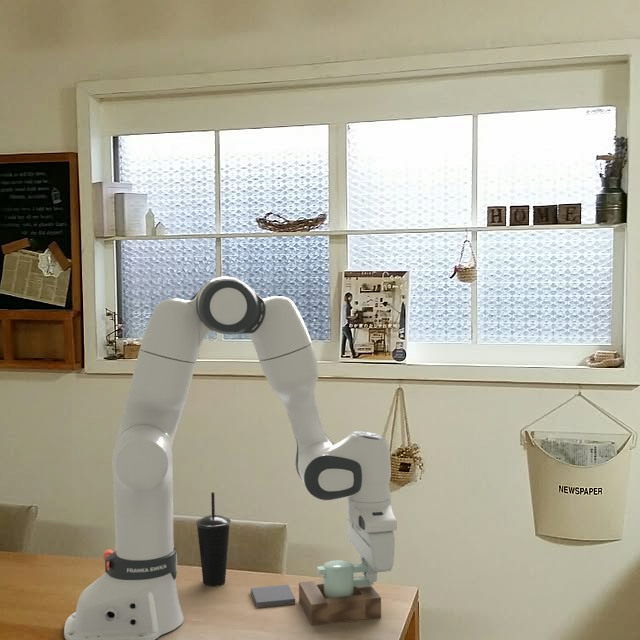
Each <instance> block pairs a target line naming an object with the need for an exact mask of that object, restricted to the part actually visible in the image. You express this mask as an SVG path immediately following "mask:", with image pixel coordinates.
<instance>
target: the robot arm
mask: <svg viewBox="0 0 640 640" xmlns="http://www.w3.org/2000/svg"><path fill="white" fill-rule="evenodd" d="M212 332H216V333H217V334H223V335H239V334H240V335H241V334H242V335H243V334H246V335H247V336H248V337H249V338H250V340H251V342H252V344H253V347H254V349H255V353H256V355H257V358H258V361H259V364H260V367H261V370H262V372H263V374H264V377H265V378H266V381H267V382H268V384H269V386H270V388H271V390H272V392H273V393H274V394H275V395H276V396H277V398H279V400H280V401H281V402H282V404H283V406H284V408H285V409H286V412H287V416H288V419H289V423H290V425H291V427H292V428H291V429H292V430H293V434H294V438H295V442H296V454H295V455H296V456H295V470H296V472H297V475H298V476H299V479H301V481H302V483H303V484H304V486H305V488H306V490H307V491H308V492H309V494H310V495H312V496H313V497H315V498H316V499H317V500H321V501H333V500H337V499H342V498H347V521H348V539H349V542H350V544H351V545H352V546H353V548H355V550H356V551H357V552H358V553H359V555H360V561H361V562H360V563H361V564H364V563H367V565H368V571H366V572H362V576H364V577H366V575H367V580H368V581H369V582H373V583H376V582H377V581H378V573H382V572H383V573H384V572H391V571H392V570H393V567H394V562H395V545H396V543H395V542H396V541H395V539H396V538H395V532H394V531H397V529H398V522H397V519H396V516H395V514H394V511H393V507H392V494H391V490H390V481H391V478H392V466H391V465H392V464H391V463H392V462H391V452H390V451H391V449H390V446H389V443H388V441H387V440H386V438H385V437H383V436H382V435H381V434H379V433H375V432H371V431H368V430H367V431H366V430H355V431H352V432H350V434H349V435H348V436H346V437H345V438H343V439H341V440H340V441H339V442H337V443H335V444H334V442H333V441H332V440H331V439H330V438H329V437H328V435H327V433H326V431H325V428H324V425H323V421H322V419H321V415H320V411H319V409H318V406H317V403H316V395H315V391H316V386H317V382H318V380H319V376H320V375H319V367H318V361H317V360H318V359H317V356H316V352H315V348H314V346H313V345H314V344H313V342H312V338H311V336H310V333H309V331H308V328H307V326H306V324H305V322H304V319H303V317H302V315H301V314H300V311H299V310H298V308H297V306H296V304H295V303H294V302H293V301H292V300H291V299H290V298H289V297H285V296H281V295H280V296H278V295H276V296H275V295H274V296H269V297H266V298H262V297H261V296H260V295H259V294H258V293H257V292H255V291H254V290H253V289H252V287H250V286H249V285H248V284H247V283H245V282H244V281H243V280H242V279H240V278H238V277H236V276H231V275H220V276H216V277H214V278H212V279H209V280H208V281H207V282H206V283H205V284H204V285H203V286H201V288H200V289H199V290H198V291H197V292H196V293H195V294H194V295H193V296H192V297H191V298H190V299H186V300H185V299H181V298H167V299H164V300H162V301H160V302H159V303H158V304H156V307H155V308H154V310H153V311H152V314H151V316H150V318H149V321H148V323H147V324H146V329H145V331H144V334H143V336H142V339H141V343H140V347H139V351H138V353H137V354H138V355H137V358H136V361H135V365H134V366H135V367H134V370H133V373H132V377H131V381H130V385H129V389H128V393H127V397H126V401H125V404H124V408H123V412H122V416H121V419H120V423H119V426H118V427H119V428H118V430H117V435H116V439H115V442H114V447H113V450H112V456H111V457H112V458H111V465H112V466H111V467H112V487H113V489H112V491H113V503H114V504H113V505H114V529H115V532H114V534H115V536H114V537H115V551H113V550H112V549H111V548H110V549H105V550H104V552H103V557H102V558H103V560H104V568H105V572H104V573H103V574H101V575H100V576H99V577H98V578H97V579H96V580H94V581H93V582H92V583H91V584H89V585H88V586H87V587H86V588H84V590H82V592H81V594H80V596H79V598H78V601H77V603H76V609H75V611H74V612H73V613H72V614H70V615H69V616H68V617H67V618H66V621H65V623H64V629H63V637H64V639H65V640H156V639H158V638H159V637H161V636H163V635H164V634H167V633H169V632H171V631H174V630H175V629H177V628H179V627H180V626H181V624H183V622H184V620H185V618H184V617H185V616H184V614H183V611H182V608H181V604H180V601H179V595H178V589H177V587H178V586H177V582H176V579H177V574H178V554H177V551H176V549H177V548H176V547H175V545H174V541H175V540H174V538H175V537H174V488H173V487H174V483H173V482H174V481H173V480H174V479H173V478H174V477H173V476H174V474H173V473H174V469H173V468H174V464H173V461H174V460H173V445H174V440H175V437H176V433H177V430H178V426H179V424H180V420H181V417H182V414H183V410H184V407H185V404H186V402H187V399H188V398H187V397H188V395H189V392H190V386H191V383H192V378H193V376H194V372H195V367H196V363H197V359H198V355H199V352H200V348H201V345H202V343H203V341H204V339H205V338H206V336H207V335H208V334H210V333H212Z"/></svg>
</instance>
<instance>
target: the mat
mask: <svg viewBox="0 0 640 640" xmlns="http://www.w3.org/2000/svg"><path fill="white" fill-rule="evenodd" d="M250 593H251V596H252V599H253V600H254V601H253V602H254V603H255V606H256V608H264V607H266V608H267V607H274V606H285V605H292V604H296V597H295V595H294V593H293V591H292V589H291V588H290V586H289V584H279V585H272V586H271V585H270V586H260V587H251V588H250Z"/></svg>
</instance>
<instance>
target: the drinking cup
mask: <svg viewBox="0 0 640 640" xmlns="http://www.w3.org/2000/svg"><path fill="white" fill-rule="evenodd" d="M210 495H211V497H210V500H211V514H210V515H209V514H208V515H206V516H203V517H201V518H199V519H197V520H196V521H195V526H196V527H197V538H198V545H199V557H200V564H201V565H200V566H201V574H202V575H201V576H202V584H203V583H204V584H205V585H204V584H203V585H204V586H206V585H208V586H207V587H218V586H217V585H219V586H222V585H224V584H225V583H226V579H227V578H226V577H227V576H226V575H227V563H228V549H229V538H230V525H231V524H232V523H231V522H232V520H231V519H230V518H228V517H226V516H223V515H220V514H216V512H215V511H216V508H215V492H211V493H210ZM221 584H222V585H221Z"/></svg>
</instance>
